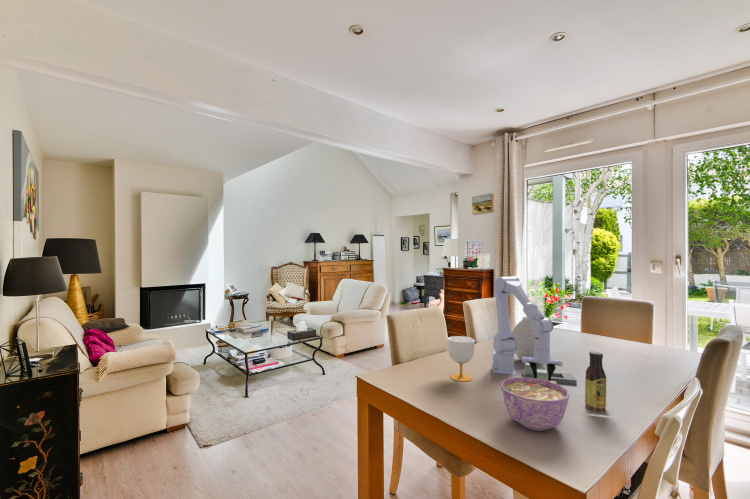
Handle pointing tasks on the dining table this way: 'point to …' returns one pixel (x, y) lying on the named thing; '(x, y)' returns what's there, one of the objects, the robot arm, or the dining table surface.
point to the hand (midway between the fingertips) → (541, 382)
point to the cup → (461, 354)
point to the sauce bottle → (595, 384)
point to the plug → (542, 374)
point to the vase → (524, 338)
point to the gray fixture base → (556, 377)
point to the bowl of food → (535, 402)
